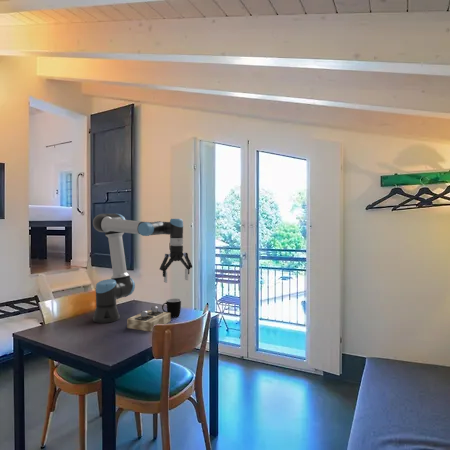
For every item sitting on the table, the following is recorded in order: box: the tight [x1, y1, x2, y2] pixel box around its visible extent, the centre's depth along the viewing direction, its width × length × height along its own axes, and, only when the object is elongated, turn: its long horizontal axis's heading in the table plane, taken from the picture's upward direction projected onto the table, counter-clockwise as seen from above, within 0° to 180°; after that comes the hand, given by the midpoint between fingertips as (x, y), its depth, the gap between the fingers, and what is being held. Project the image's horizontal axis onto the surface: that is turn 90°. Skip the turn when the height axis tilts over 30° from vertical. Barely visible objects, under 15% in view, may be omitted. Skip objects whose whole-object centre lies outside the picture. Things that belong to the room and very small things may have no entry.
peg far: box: [150, 305, 158, 315], centre depth 208 cm, size 4×4×5 cm
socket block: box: [126, 309, 172, 333], centre depth 204 cm, size 16×20×5 cm
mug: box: [161, 298, 182, 319], centre depth 220 cm, size 12×9×10 cm
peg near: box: [140, 310, 148, 319], centre depth 199 cm, size 4×4×5 cm
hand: (176, 281), depth 207 cm, fingers open, 13 cm apart
